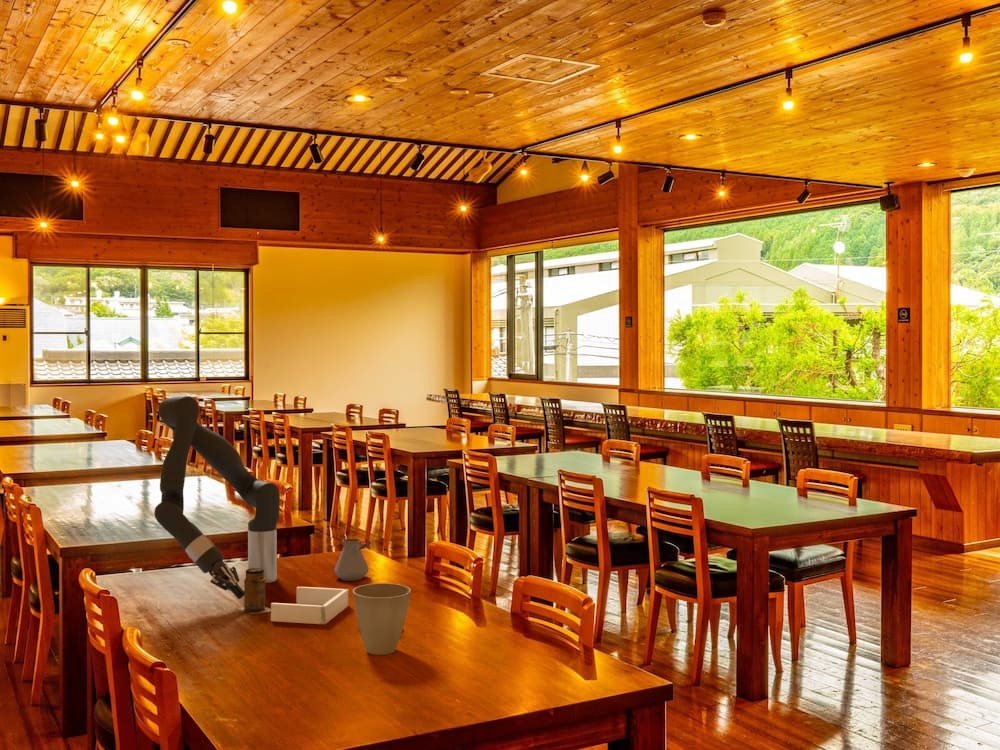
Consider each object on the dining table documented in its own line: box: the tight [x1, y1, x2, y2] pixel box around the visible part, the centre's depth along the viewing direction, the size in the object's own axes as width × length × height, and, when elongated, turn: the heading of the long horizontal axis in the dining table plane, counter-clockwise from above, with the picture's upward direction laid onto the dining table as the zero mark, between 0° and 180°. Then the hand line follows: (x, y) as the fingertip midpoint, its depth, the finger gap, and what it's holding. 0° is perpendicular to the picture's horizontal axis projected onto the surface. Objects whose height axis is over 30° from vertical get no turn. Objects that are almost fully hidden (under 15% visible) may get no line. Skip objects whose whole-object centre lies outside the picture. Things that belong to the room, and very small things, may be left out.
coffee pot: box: [334, 538, 374, 582], centre depth 334 cm, size 21×12×15 cm, turn 31°
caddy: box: [270, 586, 350, 625], centre depth 295 cm, size 20×16×5 cm
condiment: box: [238, 568, 271, 615], centre depth 298 cm, size 7×8×12 cm
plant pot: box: [352, 582, 411, 656], centre depth 260 cm, size 15×15×16 cm
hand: (242, 596), depth 299 cm, fingers closed
